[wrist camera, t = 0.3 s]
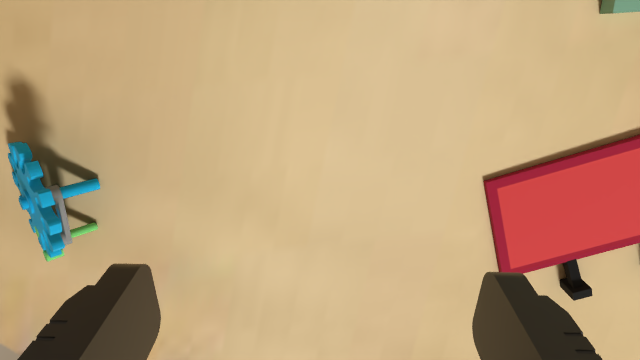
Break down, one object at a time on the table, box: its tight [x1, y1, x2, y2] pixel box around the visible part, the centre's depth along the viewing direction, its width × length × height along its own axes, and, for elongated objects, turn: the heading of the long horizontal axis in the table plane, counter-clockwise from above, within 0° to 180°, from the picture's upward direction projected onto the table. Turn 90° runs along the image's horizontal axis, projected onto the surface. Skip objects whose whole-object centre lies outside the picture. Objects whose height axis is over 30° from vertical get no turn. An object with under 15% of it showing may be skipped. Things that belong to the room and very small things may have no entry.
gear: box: [8, 142, 100, 262], centre depth 35 cm, size 11×6×10 cm
